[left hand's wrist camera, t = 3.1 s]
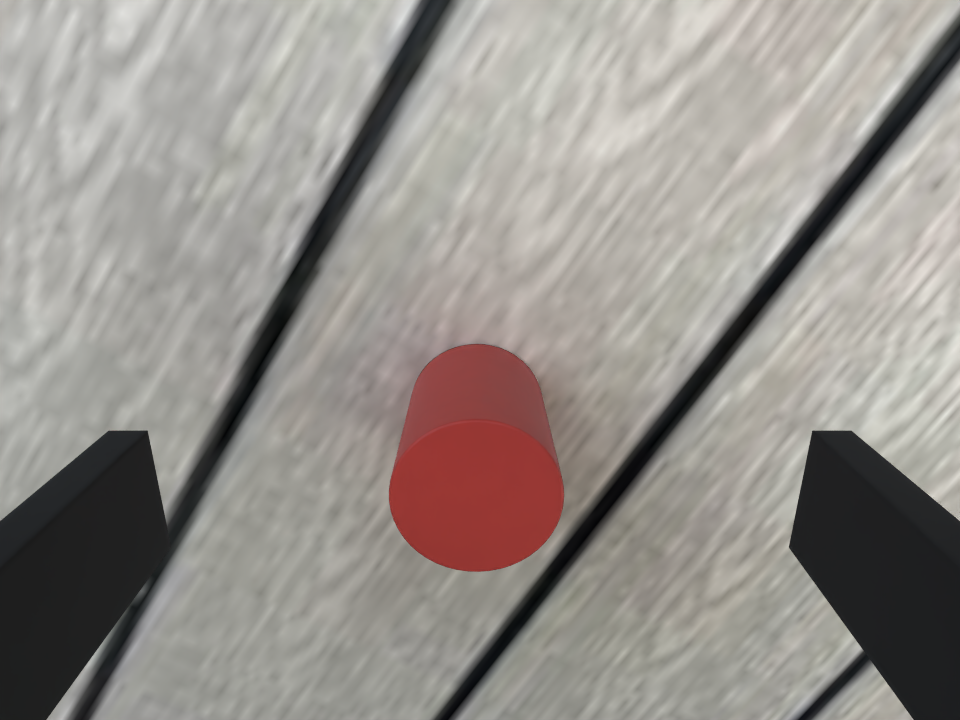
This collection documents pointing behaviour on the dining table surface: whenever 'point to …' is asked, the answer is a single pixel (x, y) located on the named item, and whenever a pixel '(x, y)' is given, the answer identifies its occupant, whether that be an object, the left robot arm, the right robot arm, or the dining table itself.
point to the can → (476, 462)
